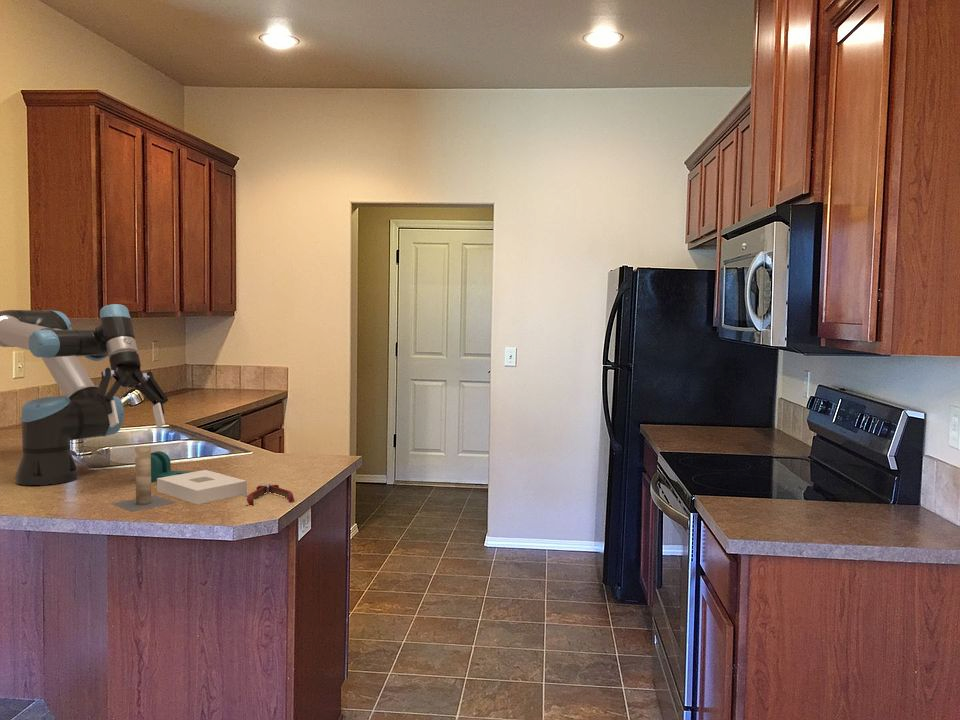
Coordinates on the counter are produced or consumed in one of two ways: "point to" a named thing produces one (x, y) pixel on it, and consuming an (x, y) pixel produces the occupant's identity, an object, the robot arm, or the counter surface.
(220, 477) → the hole block
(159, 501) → the mat
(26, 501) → the counter surface
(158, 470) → the bracket
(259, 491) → the pliers
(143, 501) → the peg
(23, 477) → the robot arm
